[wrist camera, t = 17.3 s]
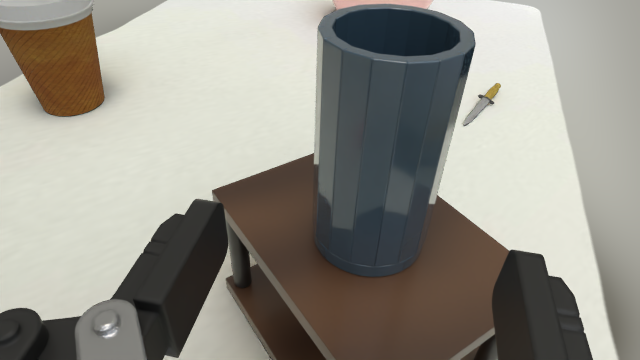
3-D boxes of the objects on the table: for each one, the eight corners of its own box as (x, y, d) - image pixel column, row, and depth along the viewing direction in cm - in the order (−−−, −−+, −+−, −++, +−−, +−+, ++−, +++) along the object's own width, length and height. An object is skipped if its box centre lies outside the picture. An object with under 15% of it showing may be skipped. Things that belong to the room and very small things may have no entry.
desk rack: (226, 287, 32) (211, 190, 26) (351, 228, 37) (361, 135, 31) (355, 495, 23) (375, 412, 17) (500, 378, 27) (552, 284, 22)
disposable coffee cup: (5, 115, 49) (-48, -1, 41) (69, 77, 56) (33, -28, 48) (80, 132, 47) (38, 14, 39) (136, 90, 54) (110, -17, 46)
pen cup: (292, 221, 25) (290, 18, 18) (375, 185, 27) (402, -5, 20) (356, 296, 21) (386, 77, 14) (446, 247, 23) (509, 40, 17)
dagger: (473, 127, 49) (457, 117, 49) (469, 133, 50) (453, 124, 50) (507, 86, 55) (492, 78, 56) (503, 92, 56) (489, 84, 56)
